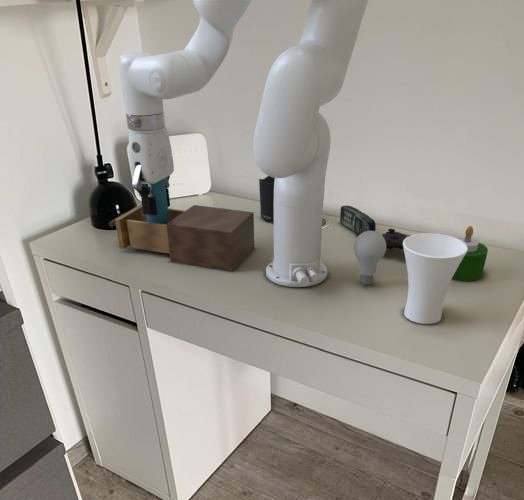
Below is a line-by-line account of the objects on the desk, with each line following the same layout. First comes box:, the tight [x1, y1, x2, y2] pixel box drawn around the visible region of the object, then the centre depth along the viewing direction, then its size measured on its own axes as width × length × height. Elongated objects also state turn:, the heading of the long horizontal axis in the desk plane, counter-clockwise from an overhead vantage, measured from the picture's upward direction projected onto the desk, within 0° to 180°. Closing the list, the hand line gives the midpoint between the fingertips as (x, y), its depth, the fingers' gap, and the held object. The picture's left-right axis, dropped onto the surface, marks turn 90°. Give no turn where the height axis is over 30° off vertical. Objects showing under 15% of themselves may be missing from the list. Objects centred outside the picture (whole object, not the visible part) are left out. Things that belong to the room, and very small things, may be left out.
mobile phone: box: [339, 205, 377, 237], centre depth 130 cm, size 5×3×15 cm
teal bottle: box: [144, 178, 169, 225], centre depth 120 cm, size 5×5×16 cm
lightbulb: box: [353, 230, 387, 286], centre depth 106 cm, size 6×6×11 cm
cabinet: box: [167, 204, 255, 272], centre depth 119 cm, size 15×13×9 cm
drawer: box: [108, 203, 185, 255], centre depth 124 cm, size 17×11×7 cm, turn 69°
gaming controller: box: [381, 228, 412, 251], centre depth 118 cm, size 14×6×10 cm
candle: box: [451, 225, 489, 282], centre depth 110 cm, size 8×8×10 cm
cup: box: [403, 232, 468, 325], centre depth 95 cm, size 10×10×14 cm
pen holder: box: [258, 175, 275, 224], centre depth 138 cm, size 9×9×10 cm
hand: (156, 209), depth 120 cm, fingers closed on teal bottle, 4 cm apart
